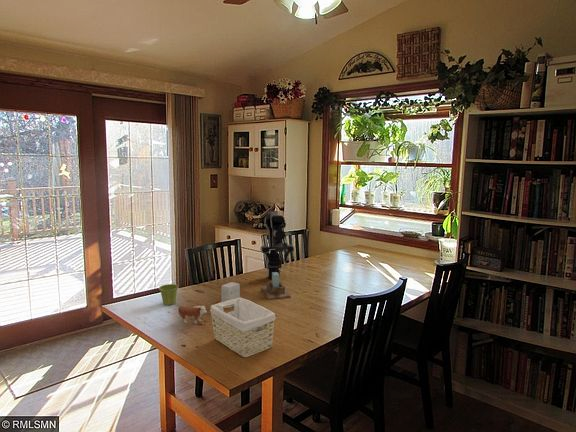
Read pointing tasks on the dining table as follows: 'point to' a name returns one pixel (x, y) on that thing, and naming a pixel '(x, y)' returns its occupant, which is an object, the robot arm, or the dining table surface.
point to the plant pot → (168, 293)
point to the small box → (230, 291)
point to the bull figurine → (192, 312)
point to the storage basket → (243, 326)
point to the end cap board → (275, 291)
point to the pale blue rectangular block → (275, 279)
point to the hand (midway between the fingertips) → (277, 262)
